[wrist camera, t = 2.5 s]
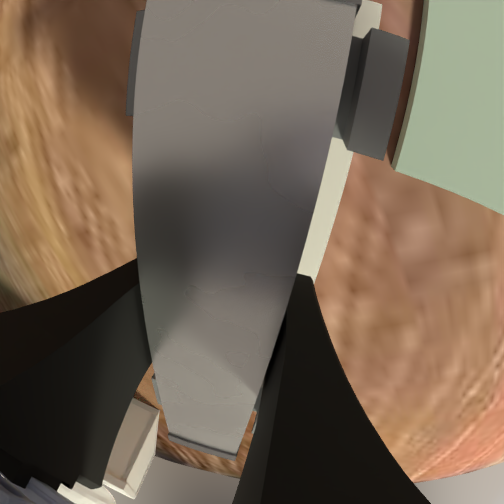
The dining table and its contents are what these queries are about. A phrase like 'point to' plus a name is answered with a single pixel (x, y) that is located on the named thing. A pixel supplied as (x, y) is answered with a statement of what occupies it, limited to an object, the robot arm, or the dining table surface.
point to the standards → (338, 122)
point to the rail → (228, 191)
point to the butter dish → (124, 458)
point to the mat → (457, 102)
